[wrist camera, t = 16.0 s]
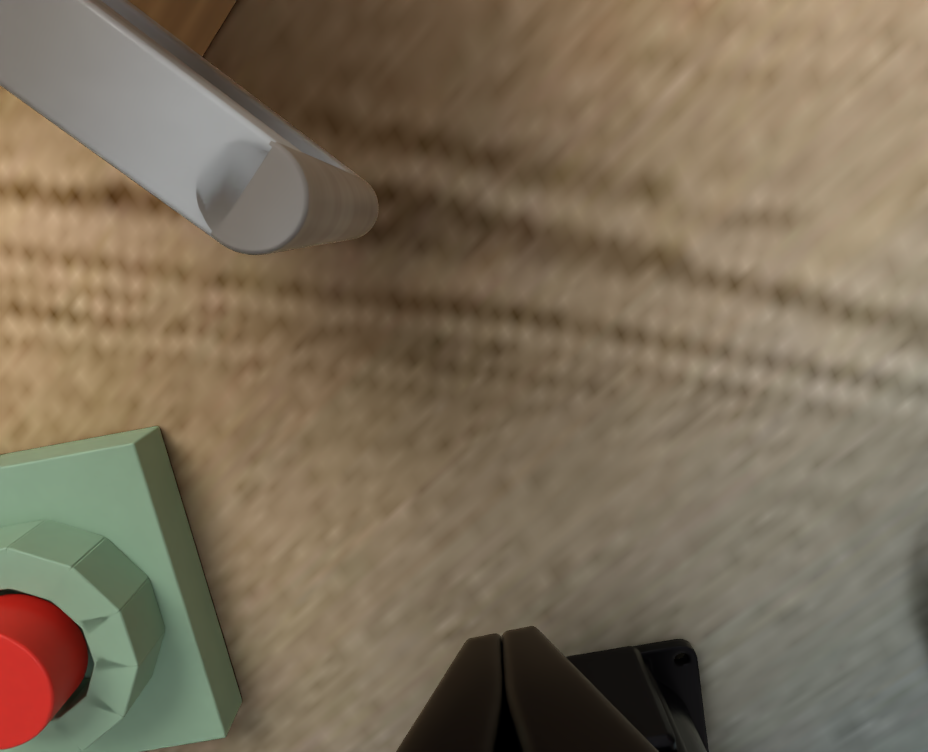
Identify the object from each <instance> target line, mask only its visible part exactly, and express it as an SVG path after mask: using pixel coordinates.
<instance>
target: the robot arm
mask: <svg viewBox="0 0 928 752" xmlns="http://www.w3.org/2000/svg"><path fill="white" fill-rule="evenodd" d="M680 653H685V655H684V656H683V657H682V658H680V659H674V658H675V656H676V655H677V654H680ZM396 752H709V750H708V742H707V734H706V726H705V718H704V710H703V702H702V694H701V685H700V677H699V669H698V661H697V656H696V653H695V651H694V649H693V647H692V646H691V644H690V643H689V642H688V641H685V640H683V639H674V640H668V641H662V642H656V643H650V644H644V645H638V646H628V647H622V648H616V649H610V650H604V651H598V652H592V653H586V654H580V655H574V656H568V657H565V656H564V655H563V654H562V653H561V652H560V651H559V650H558V649H557V648H556V647H555V646H554V645H553V644H552V643H551V642H550V641H549V640H548V639H547V638H546V637H545V636H544V635H543V634H542V633H541V632H540V631H539V630H538V629H537V628H536V627H534V626H529V627H524V628H519V629H514V630H509V631H506V632H505V633H504V634H503V635H502V637H501V636H500V635H499V634H489V635H484V636H479V637H474V638H470V639H468V640H467V641H466V642H465V643H464V645H463V647H462V648H461V650H460V651H459V653H458V654H457V656H456V658H455V659H454V661H453V662H452V664H451V666H450V667H449V669H448V670H447V672H446V674H445V675H444V677H443V678H442V680H441V681H440V683H439V685H438V686H437V688H436V689H435V691H434V693H433V694H432V696H431V697H430V699H429V700H428V702H427V704H426V705H425V707H424V708H423V710H422V712H421V713H420V715H419V716H418V718H417V719H416V721H415V723H414V724H413V726H412V727H411V729H410V731H409V732H408V734H407V735H406V737H405V739H404V740H403V742H402V743H401V745H400V746H399V748H398V750H397V751H396Z"/></svg>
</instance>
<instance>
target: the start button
mask: <svg viewBox="0 0 928 752" xmlns="http://www.w3.org/2000/svg"><path fill="white" fill-rule="evenodd" d="M87 664H88V650H87V645H86V641H85V639H84V636H83V634H82V632H81V630H80V629H79V627H78V625H77V624H76V623H75V622H74V621H73V620H72V619H71V618H70V617H69V616H68V615H66V614H65V613H64V612H63V611H62V610H61V609H60V608H59V607H58V606H56V605H54V604H53V603H51V602H49V601H47V600H44V599H41V598H39V597H35V596H31V595H26V594H5V595H0V750H3V749H9V748H13V747H16V746H19V745H22V744H24V743H26V742H28V741H30V740H31V739H33V738H34V737H36V736H37V735H38V734H39V733H40V732H41V731H42V730H43V729H44V728H45V727H46V726H47V724H48V723H49V722H50V721H51V720H52V718H53V717H54V716H55V715H56V713H57V712H58V711H59V710H60V709H61V707H62V706H63V705H64V704H65V702H66V701H67V700H68V699H69V698H70V696H71V695H72V694H73V693H74V691H75V690H76V689H77V688H78V686H79V685H80V684H81V682H82V680H83V678H84V676H85V673H86V670H87Z"/></svg>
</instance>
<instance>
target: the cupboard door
mask: <svg viewBox="0 0 928 752" xmlns="http://www.w3.org/2000/svg"><path fill="white" fill-rule="evenodd" d="M235 2H236V0H0V86H2V87H3V88H5V89H6V90H7V91H9V92H10V93H12V94H13V95H14V96H16V97H17V98H19V99H20V100H21V101H23V102H24V103H26V104H27V105H28V106H30V107H31V108H33V109H34V110H35V111H37V112H38V113H39V114H41V115H42V116H44V117H45V118H46V119H48V120H49V121H51V122H52V123H53V124H55V125H56V126H58V127H59V128H60V129H62V130H63V131H65V132H66V133H67V134H69V135H70V136H72V137H73V138H74V139H76V140H77V141H79V142H80V143H81V144H83V145H84V146H85V147H87V148H88V149H90V150H91V151H92V152H94V153H95V154H97V155H98V156H99V157H101V158H102V159H104V160H105V161H106V162H108V163H109V164H111V165H112V166H113V167H115V168H116V169H118V170H119V171H120V172H122V173H123V174H125V175H126V176H127V177H129V178H130V179H131V180H133V181H134V182H136V183H137V184H138V185H140V186H141V187H143V188H144V189H145V190H147V191H148V192H150V193H151V194H152V195H154V196H155V197H157V198H158V199H159V200H161V201H162V202H164V203H165V204H166V205H168V206H169V207H170V208H172V209H173V210H175V211H176V212H177V213H179V214H180V215H182V216H183V217H184V218H186V219H187V220H189V221H190V222H191V223H193V224H194V225H196V226H197V227H198V228H200V229H201V230H203V231H204V232H205V233H207V234H208V235H210V236H211V237H212V238H214V239H215V240H216V241H218V242H219V243H220V244H222V245H223V246H225V247H227V248H229V249H231V250H233V251H236V252H239V253H242V254H248V255H264V254H270V253H276V252H281V251H287V250H293V249H299V248H305V247H311V246H316V245H322V244H328V243H334V242H340V241H346V240H351V239H356V238H359V237H361V236H363V235H365V234H366V233H367V232H368V231H370V229H371V228H372V227H373V225H374V224H375V222H376V219H377V216H378V208H379V206H378V200H377V196H376V194H375V192H374V190H373V189H372V187H371V186H370V185H369V184H368V183H367V182H366V181H365V180H364V179H362V178H361V177H360V176H358V175H357V174H356V173H354V172H353V171H352V170H350V169H349V168H348V167H347V166H345V165H344V164H343V163H341V162H340V161H339V160H337V159H336V158H335V157H333V156H332V155H331V154H329V153H328V152H327V151H325V150H324V149H323V148H322V147H320V146H319V145H318V144H316V143H315V142H314V141H312V140H311V139H310V138H308V137H307V136H306V135H304V134H303V133H302V132H300V131H299V130H298V129H296V128H295V127H294V126H293V125H291V124H290V123H289V122H287V121H286V120H285V119H283V118H282V117H281V116H279V115H278V114H277V113H275V112H274V111H273V110H271V109H270V108H269V107H268V106H266V105H265V104H264V103H262V102H261V101H260V100H258V99H257V98H256V97H254V96H253V95H252V94H250V93H249V92H248V91H246V90H245V89H244V88H242V87H241V86H240V85H239V84H237V83H236V82H235V81H233V80H232V79H231V78H229V77H228V76H227V75H225V74H224V73H223V72H221V71H220V70H219V69H217V68H216V67H215V66H214V65H212V64H211V63H210V62H208V61H207V60H206V59H204V58H203V57H202V56H203V54H204V53H205V51H206V49H207V48H208V46H209V45H210V43H211V41H212V40H213V38H214V36H215V35H216V33H217V31H218V30H219V28H220V27H221V25H222V23H223V22H224V20H225V18H226V17H227V15H228V14H229V12H230V10H231V9H232V7H233V5H234V4H235Z"/></svg>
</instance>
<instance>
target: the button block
mask: <svg viewBox="0 0 928 752" xmlns="http://www.w3.org/2000/svg"><path fill="white" fill-rule="evenodd" d="M5 594H26V595H31V596H35V597H39V598H41V599H44V600H47V601H49V602H51V603H53V604H54V605H56V606H58V607H59V608H60V609H61V610H62V611H63V612H64V613H65V614H66V615H68V616H69V617H70V618H71V619H72V620H73V621H74V622H75V623H76V624H77V625H78V627H79V629H80V630H81V632H82V634H83V636H84V639H85V641H86V645H87V650H88V664H87V670H86V673H85V676H84V678H83V680H82V682H81V684H80V685H79V686H78V688H77V689H76V690H75V691H74V693H73V694H72V695H71V696H70V698H69V699H68V700H67V701H66V702H65V704H64V705H63V706H62V707H61V709H60V710H59V711H58V712H57V713H56V715H55V716H54V717H53V718H52V720H51V721H50V722H49V723H48V724H47V726H46V727H45V728H44V729H43V730H42V731H41V732H40V733H39V734H38V735H37V736H36V737H34V738H33V739H31V740H30V741H28V742H26V743H24V744H22V745H19V746H16V747H13V748H9V749H3V750H0V752H142V751H148V750H154V749H160V748H166V747H172V746H178V745H184V744H190V743H196V742H202V741H208V740H214V739H220V738H225V737H226V736H227V734H228V731H229V729H230V727H231V725H232V723H233V720H234V718H235V716H236V714H237V712H238V709H239V707H240V705H241V703H242V699H241V695H240V692H239V689H238V685H237V682H236V679H235V675H234V672H233V669H232V666H231V662H230V659H229V656H228V652H227V649H226V646H225V642H224V639H223V636H222V633H221V629H220V626H219V623H218V619H217V616H216V613H215V609H214V606H213V603H212V600H211V596H210V593H209V590H208V586H207V583H206V580H205V576H204V573H203V570H202V566H201V563H200V560H199V557H198V553H197V550H196V547H195V543H194V540H193V537H192V533H191V530H190V527H189V524H188V520H187V517H186V514H185V510H184V507H183V504H182V500H181V497H180V494H179V491H178V487H177V484H176V481H175V477H174V474H173V471H172V467H171V464H170V461H169V458H168V454H167V451H166V448H165V444H164V441H163V438H162V434H161V431H160V428H159V426H154V427H149V428H143V429H138V430H132V431H127V432H122V433H116V434H111V435H105V436H100V437H94V438H89V439H84V440H78V441H73V442H67V443H62V444H56V445H51V446H46V447H40V448H35V449H29V450H24V451H18V452H13V453H7V454H2V455H0V595H5Z"/></svg>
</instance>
